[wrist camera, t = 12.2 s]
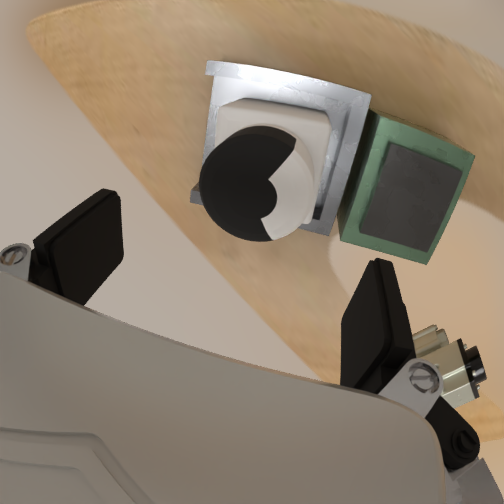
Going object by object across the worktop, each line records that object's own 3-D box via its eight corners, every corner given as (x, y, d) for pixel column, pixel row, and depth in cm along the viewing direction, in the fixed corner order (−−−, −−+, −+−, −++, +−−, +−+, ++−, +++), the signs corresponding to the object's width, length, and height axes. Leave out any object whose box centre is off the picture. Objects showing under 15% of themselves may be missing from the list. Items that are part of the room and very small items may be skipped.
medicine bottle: (232, 174, 27) (183, 243, 18) (241, 96, 23) (187, 117, 14) (311, 189, 27) (308, 269, 17) (327, 111, 23) (339, 141, 13)
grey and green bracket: (449, 125, 22) (485, 144, 16) (405, 240, 29) (422, 281, 23) (220, 61, 23) (191, 59, 17) (202, 187, 30) (175, 219, 24)
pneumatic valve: (467, 325, 33) (492, 399, 23) (394, 361, 38) (402, 436, 28) (458, 300, 31) (488, 379, 21) (378, 340, 37) (386, 422, 27)
